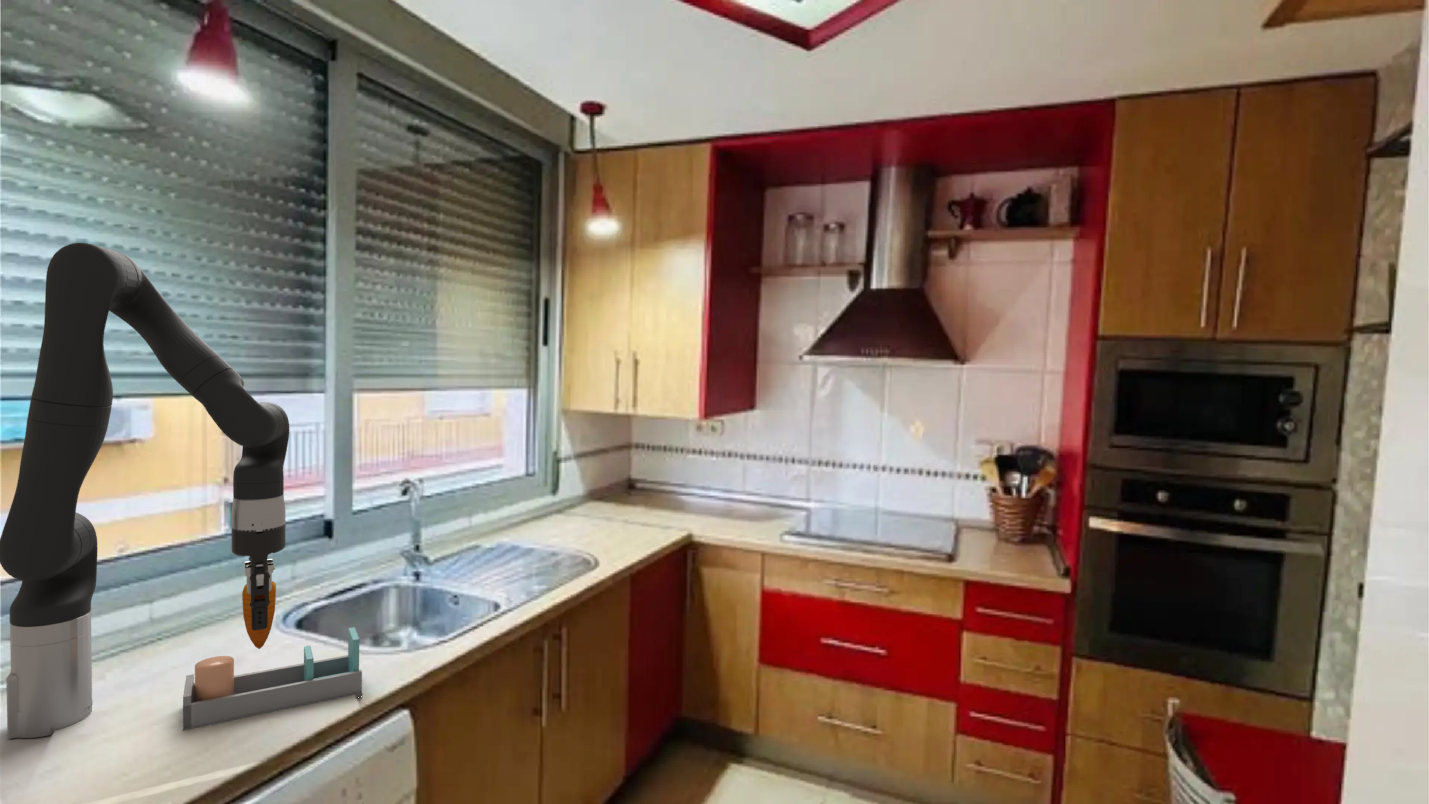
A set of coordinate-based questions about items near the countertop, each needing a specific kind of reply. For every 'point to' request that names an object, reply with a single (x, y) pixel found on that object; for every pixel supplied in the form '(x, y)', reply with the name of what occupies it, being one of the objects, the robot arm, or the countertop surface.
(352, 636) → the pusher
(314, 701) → the tray
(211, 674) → the pink cylinder
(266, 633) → the carrot
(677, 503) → the countertop surface
